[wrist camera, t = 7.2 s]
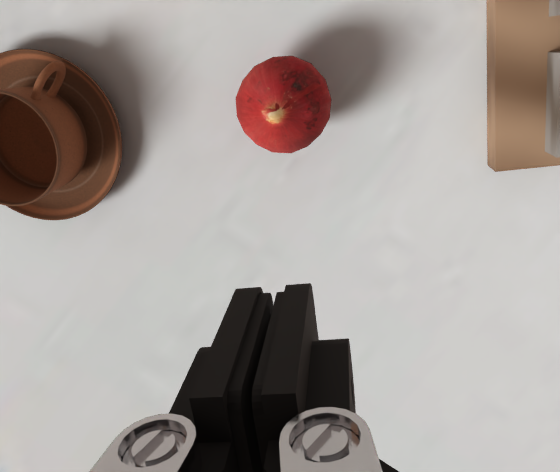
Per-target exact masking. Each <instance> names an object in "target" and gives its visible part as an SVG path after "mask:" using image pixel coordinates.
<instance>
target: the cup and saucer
mask: <svg viewBox="0 0 560 472" xmlns="http://www.w3.org/2000/svg"><path fill="white" fill-rule="evenodd" d="M121 158H122V139H121V132H120V128H119V124H118V120H117V117H116V115H115V112H114V110H113V108H112V106H111V104H110V102H109V100H108V99H107V97H106V95H105V94H104V92H103V91H102V90H101V88H100V87H99V86H98V85H97V84H96V82H95V81H94V80H93V79H92V78H91V77H90V76H89V75H87V74H86V73H85V72H84V71H83V70H81V69H80V68H79V67H77V66H76V65H74V64H73V63H71V62H69V61H67V60H65V59H63V58H61V57H59V56H56V55H54V54H51V53H48V52H44V51H39V50H32V49H17V50H10V51H6V52H3V53H0V204H2V205H6V206H7V207H9V208H11V209H13V210H15V211H17V212H19V213H21V214H24V215H26V216H30V217H33V218H38V219H44V220H63V219H68V218H73V217H76V216H79V215H81V214H83V213H85V212H87V211H89V210H90V209H92V208H93V207H95V206H96V205H97V204H98V203H99V202H100V201H101V200H102V199H103V198H104V197H105V196H106V195H107V193H108V192H109V190H110V189H111V187H112V186H113V184H114V182H115V180H116V177H117V175H118V172H119V168H120V164H121Z"/></svg>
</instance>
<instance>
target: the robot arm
mask: <svg viewBox="0 0 560 472" xmlns="http://www.w3.org/2000/svg"><path fill="white" fill-rule="evenodd" d="M89 472H398V471H397V470H395V469H394V468H392V467H391V466H389V465H388V464H386V463H385V462H383V461H382V460H380V459H379V458H378V455H377V452H376V448H375V445H374V442H373V438H372V435H371V432H370V429H369V427H368V425H367V424H366V422H365V421H364V420H363V419H362V418H361V417H360V416H358V415H357V414H356V413H355V396H354V383H353V372H352V362H351V353H350V344H349V339H334V340H318V332H317V324H316V315H315V307H314V299H313V292H312V286H311V284H310V283H309V284H296V285H286V287H285V291H284V292H277V294H276V298H275V302H274V306H273V301H272V296H271V293H263V291H262V289H261V287H256V288H243V289H236V290H235V292H234V294H233V297H232V299H231V301H230V304H229V306H228V308H227V311H226V313H225V315H224V318H223V320H222V322H221V325H220V327H219V329H218V332H217V334H216V336H215V339H214V341H213V343H212V346H211V347H202V348H200V349H199V351H198V352H197V354H196V356H195V359H194V361H193V363H192V365H191V367H190V369H189V371H188V374H187V376H186V378H185V380H184V382H183V384H182V386H181V389H180V391H179V393H178V395H177V397H176V399H175V402H174V404H173V406H172V408H171V410H170V412H169V414H158V415H154V416H150V417H146V418H144V419H142V420H139V421H137V422H135V423H133V424H132V425H130V426H129V427H127V428H126V429H124V430H123V431H122V432H121V433H120V434H119V435H118V436H117V437H116V438H115V439H114V440H113V442H112V443H111V444H110V446H109V447H108V448H107V449H106V451H105V452H104V453H103V455H102V456H101V457H100V458H99V460H98V461H97V462H96V464H95V465H94V466H93V468H92V469H91V470H90V471H89Z"/></svg>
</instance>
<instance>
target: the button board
mask: <svg viewBox="0 0 560 472" xmlns="http://www.w3.org/2000/svg"><path fill="white" fill-rule="evenodd" d="M487 145H488V166H489V167H491V168H492V169H493V170H494V171H495V172H497V171H507V170H517V169H527V168H537V167H546V166H556V165H560V0H487Z"/></svg>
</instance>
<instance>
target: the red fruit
mask: <svg viewBox="0 0 560 472" xmlns="http://www.w3.org/2000/svg"><path fill="white" fill-rule="evenodd" d="M330 106H331V97H330V94H329V90H328V87H327V83H326V80H325V78H324V77H323V76H322V75H321V74H320V73H319V72H318V71H317V69H316V68H315V67H314V66H313V65H312V64H311V63H309V62H306V61H304V60H301V59H299V58H296V57H294V56H282V57H272V58H270V59H268V60H266V61H264V62H262V63H260V64H258V65H256V66H254V68H253V69H252V70H251V71H250V72H249V74H248V75H247V76H246V77H245V78H244V79H243V81H242V84H241V86H240V88H239V91H238V93H237V96H236V109H237V117H238V120H239V122H240V124H241V126H242V128H243V130H244V132H245V133H246V134H247V135H248V136H249V137H250V138H251V139H252V140H253V141H254V142H255V143H256V144H257V145H259V146H261V147H263V148H265V149H267V150H269V151H271V152H278V153H293V152H295V151H297V150H300V149H302V148H305V147H307V146H308V145H310V144H311V143H312V142H313V141H314V140H315V139H316V138H317V137H318V136H319V135H320V134H321V133H322V131H323V129H324V127H325V126H326V124H327V122H328V120H329V117H330Z"/></svg>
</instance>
